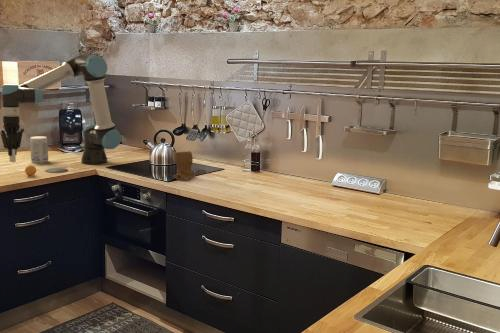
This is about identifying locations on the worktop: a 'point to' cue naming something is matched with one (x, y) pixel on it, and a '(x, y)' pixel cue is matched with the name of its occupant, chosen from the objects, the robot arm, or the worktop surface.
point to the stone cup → (184, 165)
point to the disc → (56, 170)
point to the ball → (30, 170)
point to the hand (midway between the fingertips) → (12, 161)
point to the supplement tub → (39, 149)
